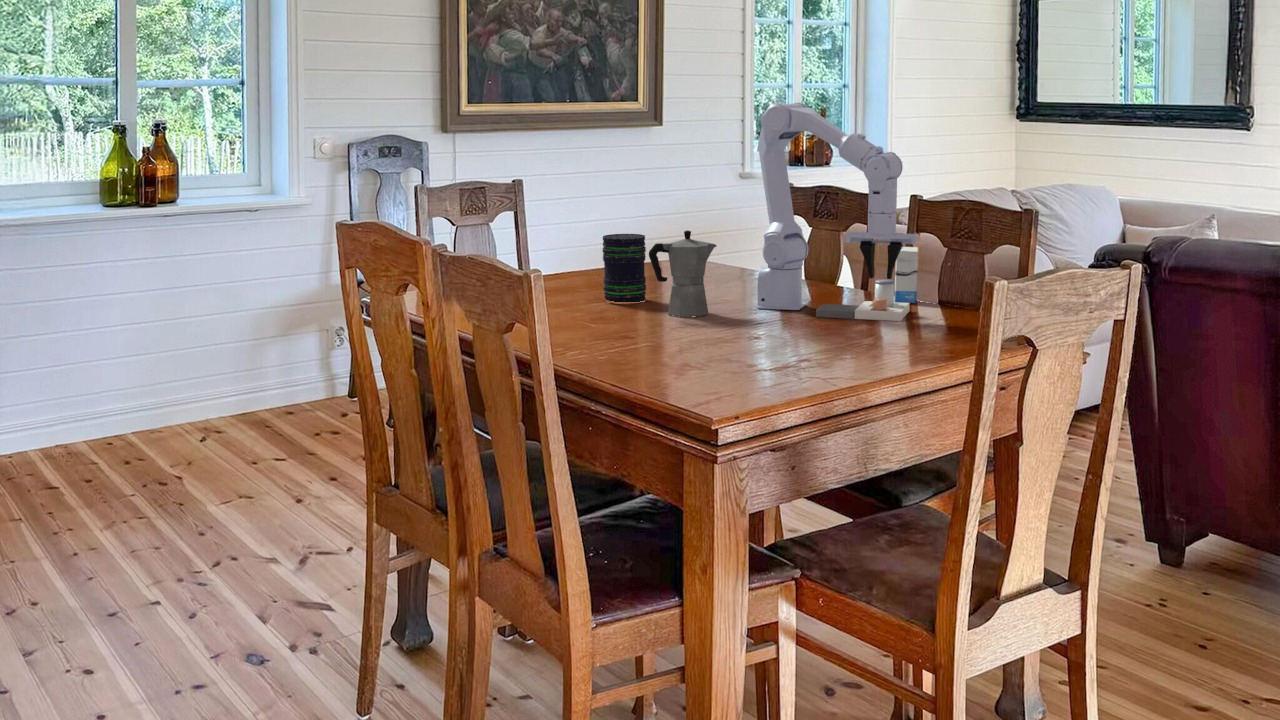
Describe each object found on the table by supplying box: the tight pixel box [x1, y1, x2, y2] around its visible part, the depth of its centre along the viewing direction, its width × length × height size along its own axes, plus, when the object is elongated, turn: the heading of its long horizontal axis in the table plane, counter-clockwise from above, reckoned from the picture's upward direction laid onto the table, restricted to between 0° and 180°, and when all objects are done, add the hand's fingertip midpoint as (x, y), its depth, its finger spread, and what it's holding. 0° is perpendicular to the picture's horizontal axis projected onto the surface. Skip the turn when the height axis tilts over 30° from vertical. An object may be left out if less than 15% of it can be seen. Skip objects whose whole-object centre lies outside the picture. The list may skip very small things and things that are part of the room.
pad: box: [815, 303, 861, 320], centre depth 271 cm, size 8×8×2 cm
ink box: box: [894, 246, 919, 304], centre depth 286 cm, size 8×5×12 cm, turn 168°
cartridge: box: [874, 279, 895, 308], centre depth 271 cm, size 4×4×7 cm
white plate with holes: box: [854, 300, 911, 322], centre depth 270 cm, size 10×12×2 cm
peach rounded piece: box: [872, 298, 887, 311], centre depth 266 cm, size 3×3×3 cm
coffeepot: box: [648, 230, 717, 318], centre depth 272 cm, size 15×9×18 cm, turn 110°
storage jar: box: [602, 233, 647, 302], centre depth 291 cm, size 10×10×15 cm
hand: (880, 278), depth 265 cm, fingers open, 3 cm apart
